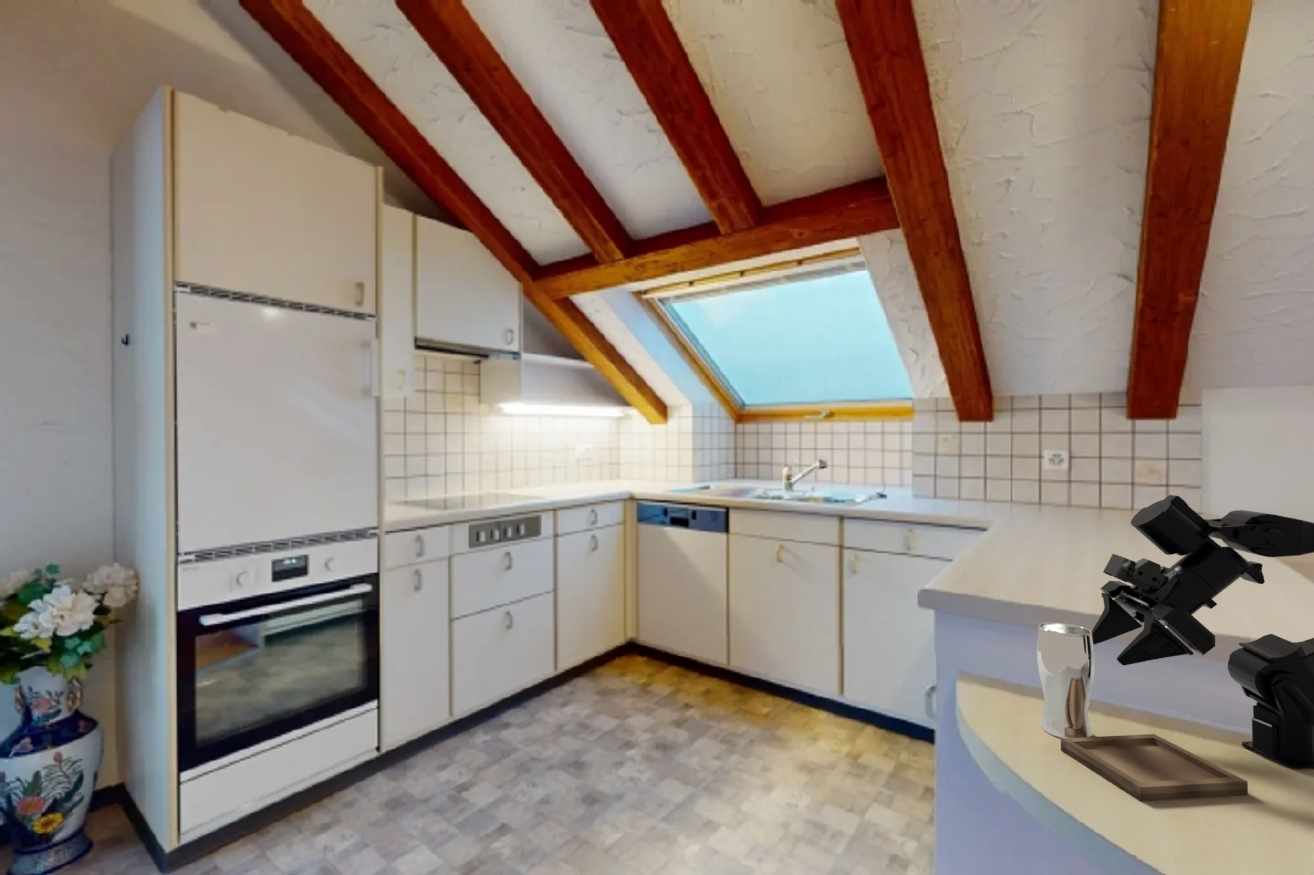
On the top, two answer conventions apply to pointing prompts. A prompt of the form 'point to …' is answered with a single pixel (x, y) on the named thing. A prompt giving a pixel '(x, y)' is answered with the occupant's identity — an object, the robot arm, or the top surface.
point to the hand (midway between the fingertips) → (1104, 651)
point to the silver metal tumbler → (1065, 678)
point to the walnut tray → (1153, 767)
